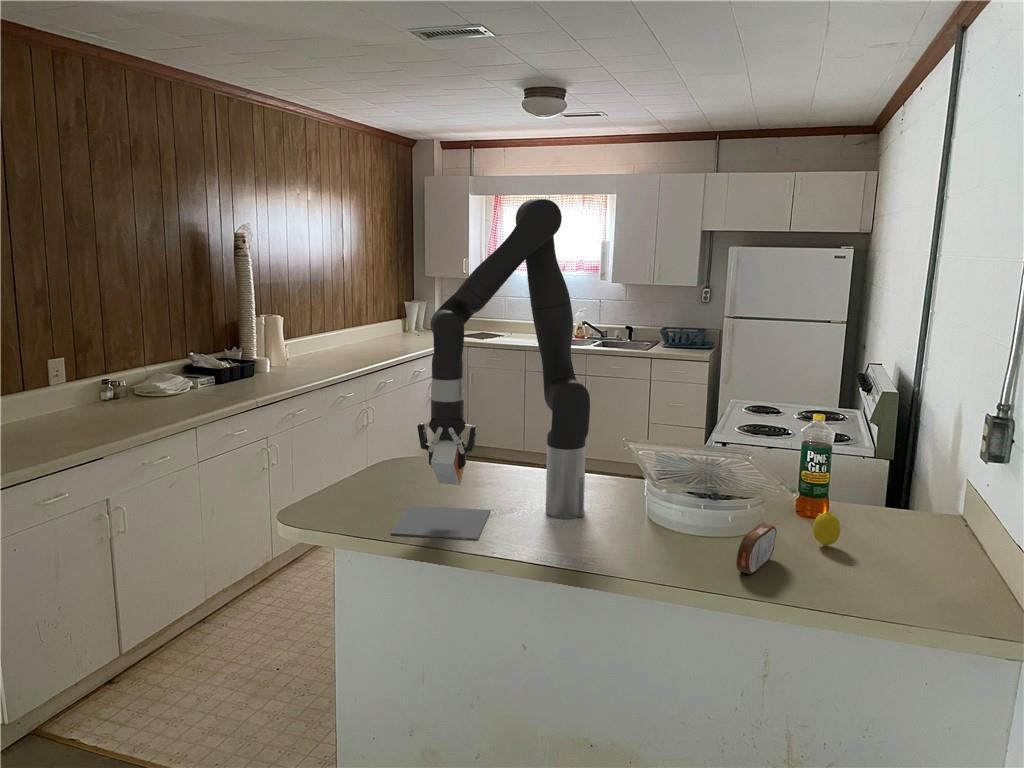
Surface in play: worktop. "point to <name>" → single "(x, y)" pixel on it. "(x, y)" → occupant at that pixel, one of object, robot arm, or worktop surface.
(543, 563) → the worktop surface
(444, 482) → the small box
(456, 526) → the mat
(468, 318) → the robot arm
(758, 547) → the tin
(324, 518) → the worktop surface
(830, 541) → the lemon
